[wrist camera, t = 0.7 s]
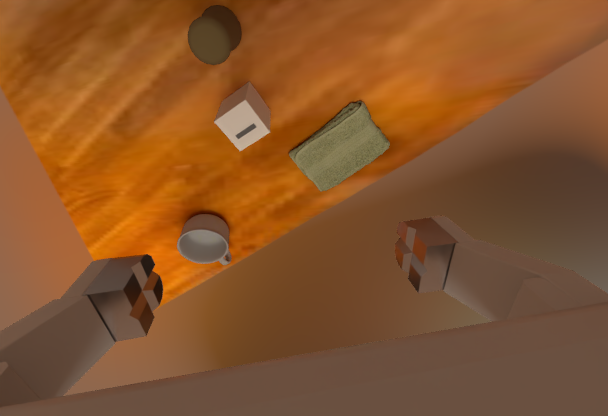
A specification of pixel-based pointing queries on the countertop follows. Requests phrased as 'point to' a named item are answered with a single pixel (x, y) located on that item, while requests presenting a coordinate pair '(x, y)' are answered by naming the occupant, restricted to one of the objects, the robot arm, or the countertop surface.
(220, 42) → the dark brown tapered piece
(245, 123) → the cream marked block
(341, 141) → the washcloth
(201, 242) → the teacup
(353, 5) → the countertop surface
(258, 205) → the countertop surface
